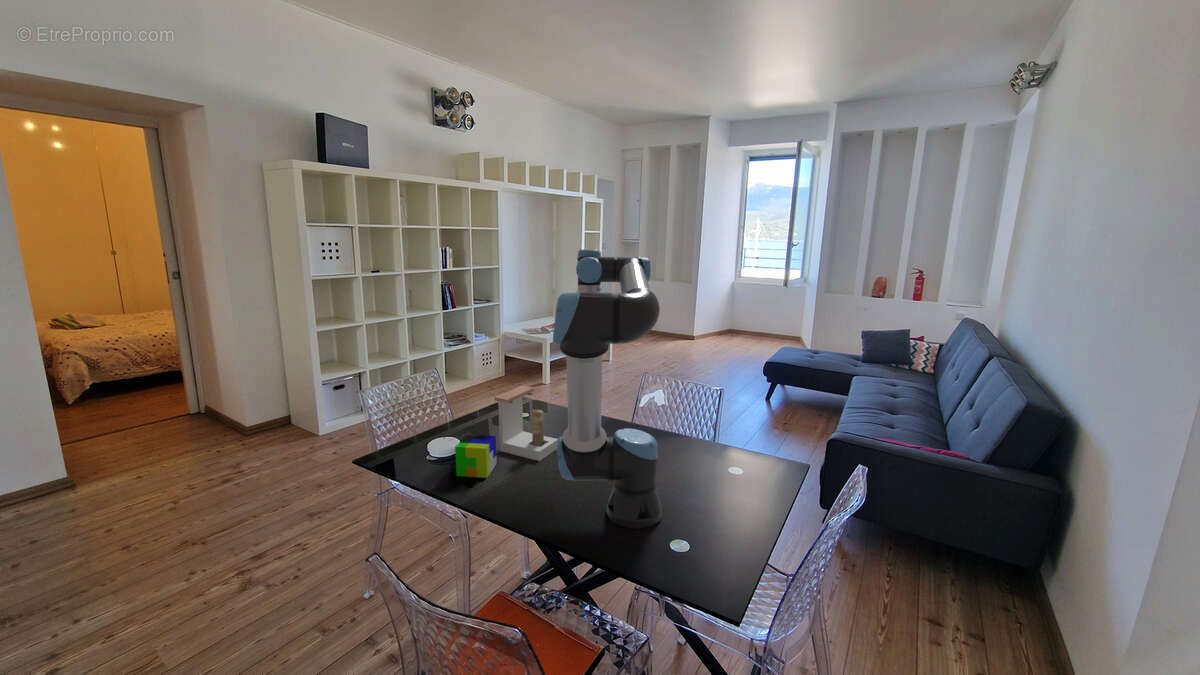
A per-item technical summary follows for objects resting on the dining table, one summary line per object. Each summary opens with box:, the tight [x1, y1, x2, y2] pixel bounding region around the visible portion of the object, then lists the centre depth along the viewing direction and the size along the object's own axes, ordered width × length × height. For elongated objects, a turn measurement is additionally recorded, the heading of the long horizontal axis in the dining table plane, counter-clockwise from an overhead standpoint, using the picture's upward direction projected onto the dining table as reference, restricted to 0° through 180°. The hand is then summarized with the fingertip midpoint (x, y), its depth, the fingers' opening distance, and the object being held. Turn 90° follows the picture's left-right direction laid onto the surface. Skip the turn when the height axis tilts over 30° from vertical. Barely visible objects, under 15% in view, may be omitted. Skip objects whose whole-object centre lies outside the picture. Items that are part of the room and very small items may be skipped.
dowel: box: [531, 409, 545, 447], centre depth 173 cm, size 4×4×15 cm
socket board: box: [499, 430, 559, 462], centre depth 176 cm, size 12×17×4 cm
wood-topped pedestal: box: [494, 385, 535, 443], centre depth 177 cm, size 16×6×17 cm, turn 153°
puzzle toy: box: [454, 434, 497, 479], centre depth 160 cm, size 10×10×10 cm
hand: (588, 361), depth 163 cm, fingers open, 13 cm apart
